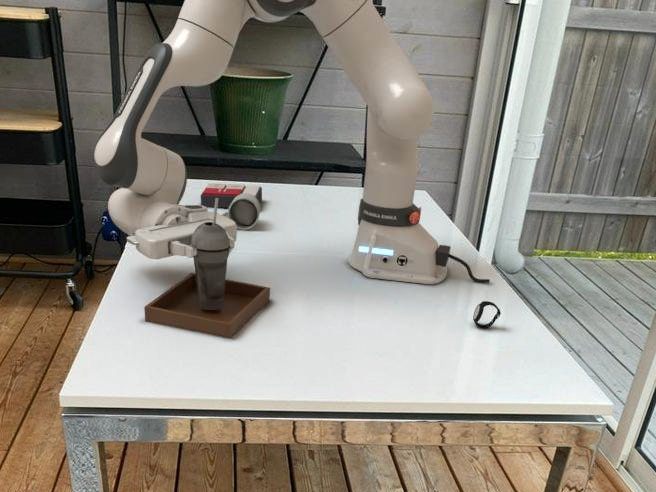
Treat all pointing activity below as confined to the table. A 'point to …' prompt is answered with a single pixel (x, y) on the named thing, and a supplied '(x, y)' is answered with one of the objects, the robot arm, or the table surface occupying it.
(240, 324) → the tray
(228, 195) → the red and grey box
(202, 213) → the robot arm
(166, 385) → the table surface
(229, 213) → the ceramic mug
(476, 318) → the smartwatch
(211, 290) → the beverage cup
